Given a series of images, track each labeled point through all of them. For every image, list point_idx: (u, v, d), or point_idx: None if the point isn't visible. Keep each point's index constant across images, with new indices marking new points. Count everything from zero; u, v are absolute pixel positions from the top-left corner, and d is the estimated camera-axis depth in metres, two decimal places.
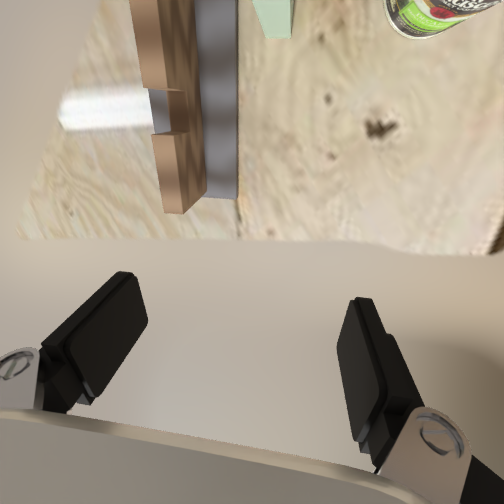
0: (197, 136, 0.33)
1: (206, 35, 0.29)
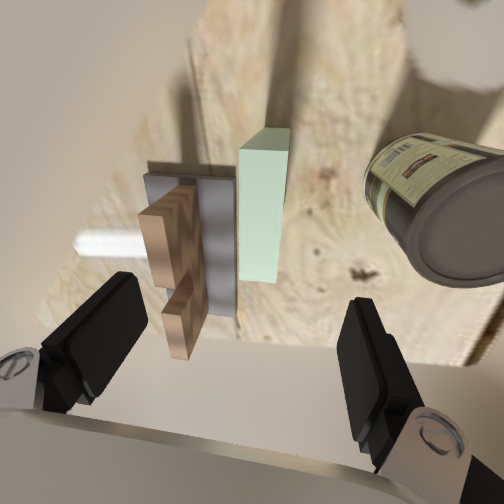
0: (200, 282, 0.37)
1: (207, 208, 0.33)
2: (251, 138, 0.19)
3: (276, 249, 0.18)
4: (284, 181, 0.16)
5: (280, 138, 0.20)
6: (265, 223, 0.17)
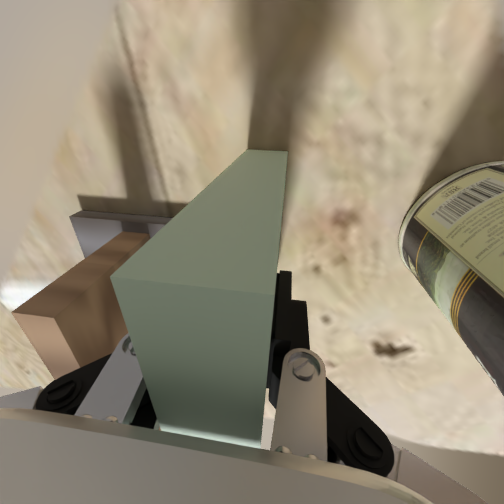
0: None
1: None
2: (201, 192, 0.09)
3: None
4: (265, 361, 0.05)
5: (265, 189, 0.09)
6: (219, 425, 0.07)
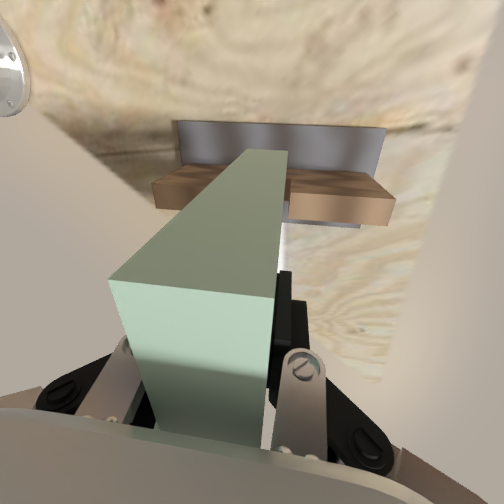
0: (297, 173, 0.28)
1: (211, 154, 0.31)
2: (201, 192, 0.09)
3: None
4: (264, 365, 0.05)
5: (265, 190, 0.09)
6: (219, 428, 0.07)
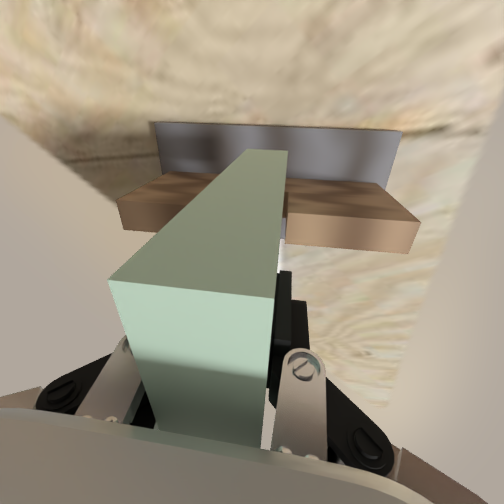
0: (296, 184, 0.24)
1: (195, 160, 0.26)
2: (200, 192, 0.09)
3: None
4: (264, 365, 0.05)
5: (265, 190, 0.09)
6: (219, 428, 0.07)
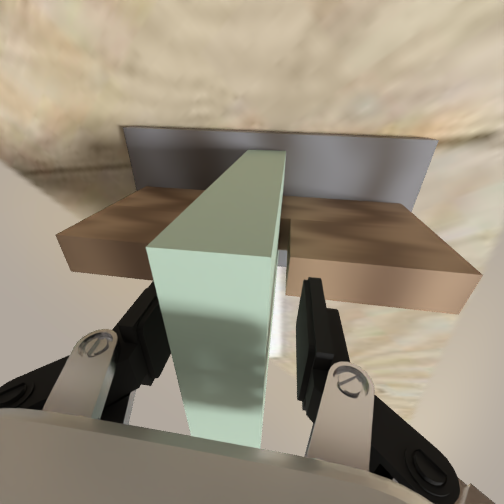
0: (300, 207, 0.19)
1: (175, 174, 0.21)
2: (209, 186, 0.10)
3: (256, 414, 0.09)
4: (265, 315, 0.06)
5: (264, 184, 0.11)
6: (229, 378, 0.08)
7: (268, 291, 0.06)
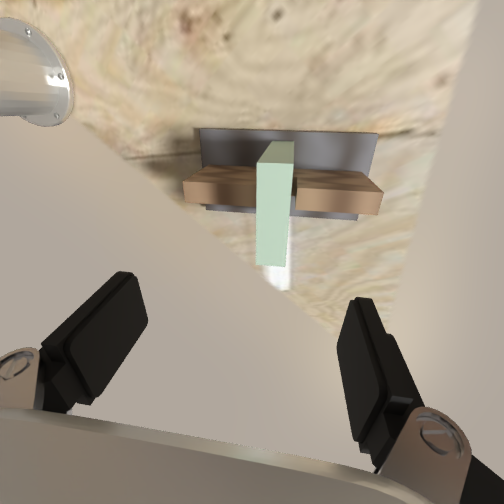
0: (302, 172, 0.33)
1: (227, 156, 0.36)
2: None
3: (285, 238, 0.23)
4: (290, 185, 0.21)
5: (286, 152, 0.25)
6: (276, 218, 0.22)
7: (292, 176, 0.20)
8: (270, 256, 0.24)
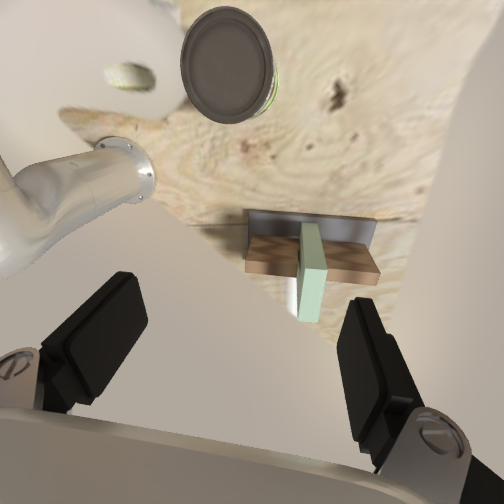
0: (323, 246, 0.47)
1: (267, 230, 0.49)
2: (303, 249, 0.38)
3: (318, 307, 0.37)
4: (325, 280, 0.34)
5: (318, 248, 0.39)
6: (314, 296, 0.36)
7: None
8: (308, 316, 0.38)
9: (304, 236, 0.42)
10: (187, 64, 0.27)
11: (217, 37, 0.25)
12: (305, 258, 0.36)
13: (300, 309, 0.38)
